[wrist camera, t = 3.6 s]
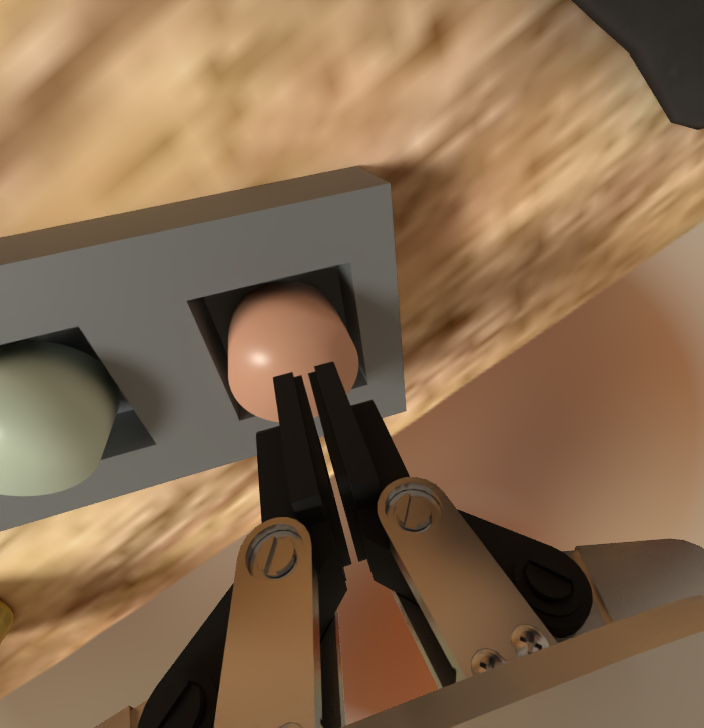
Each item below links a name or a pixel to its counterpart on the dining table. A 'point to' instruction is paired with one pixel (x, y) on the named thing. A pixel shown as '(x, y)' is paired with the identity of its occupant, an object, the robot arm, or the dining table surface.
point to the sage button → (52, 417)
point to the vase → (5, 620)
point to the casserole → (661, 49)
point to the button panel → (199, 315)
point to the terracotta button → (284, 343)
